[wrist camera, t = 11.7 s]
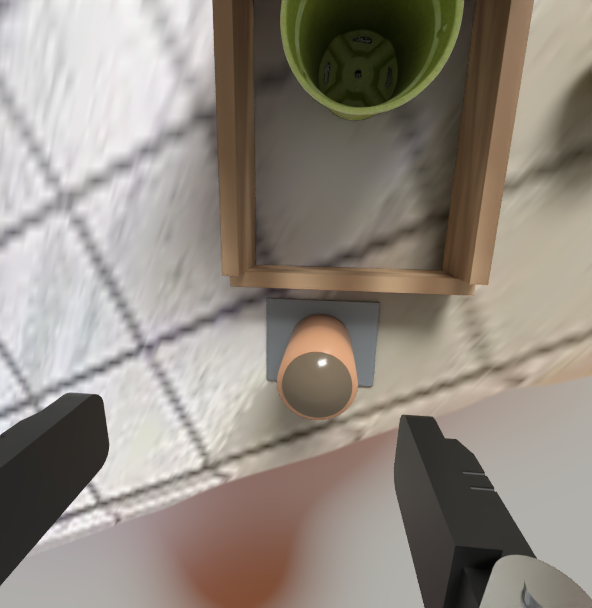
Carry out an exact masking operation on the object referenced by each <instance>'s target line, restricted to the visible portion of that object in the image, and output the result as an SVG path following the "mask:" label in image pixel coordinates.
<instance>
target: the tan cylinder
mask: <svg viewBox="0 0 592 608" xmlns="http://www.w3.org/2000/svg"><path fill="white" fill-rule="evenodd" d="M277 388H278V392H279V395H280V397H281V399H282V401H283V402H284V403H285V405H286V406H287V407H288V408H289V409H290V410H291V411H293V412H294V413H296V414H298V415H299V416H302V417H304V418H308V419H313V420H325V419H330V418H333V417H336V416H338V415H340V414H341V413H343V412H344V411H346V410H347V409H348V408H349V407H350V405H351V404H352V403H353V401H354V399H355V397H356V394H357V390H358V379H357V373H356V367H355V360H354V354H353V348H352V342H351V336H350V333H349V331H348V329H347V327H346V326H345V325H344V323H342V322H341V321H340V320H339V319H337V318H336V317H334V316H331V315H328V314H322V313H321V314H312V315H309V316H306V317H305V318H303V319H301V320H300V321H299V322H298V323H297V324H296V325H295V327H294V329H293V330H292V333H291V336H290V339H289V342H288V345H287V348H286V351H285V354H284V357H283V360H282V363H281V366H280V369H279V372H278V376H277Z"/></svg>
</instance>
